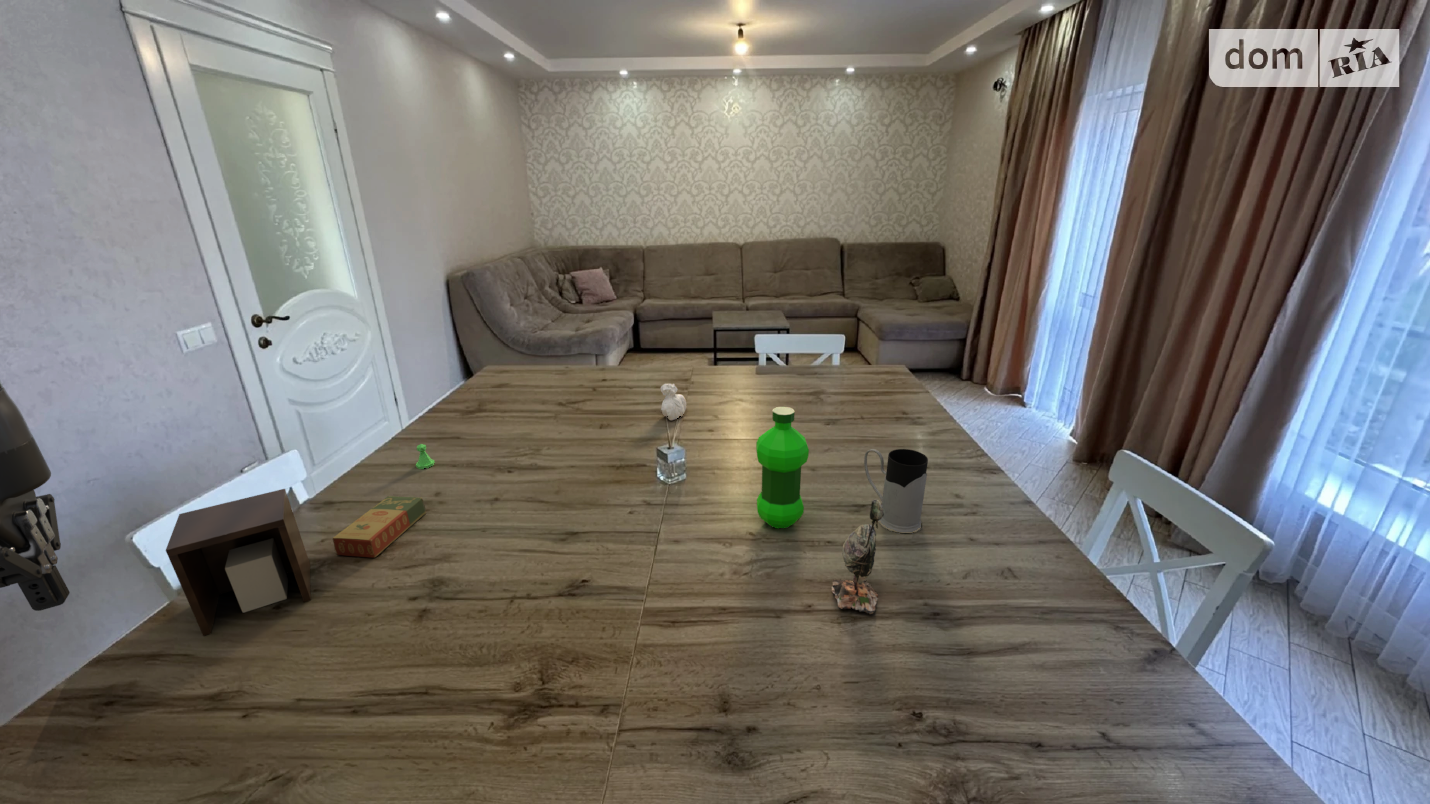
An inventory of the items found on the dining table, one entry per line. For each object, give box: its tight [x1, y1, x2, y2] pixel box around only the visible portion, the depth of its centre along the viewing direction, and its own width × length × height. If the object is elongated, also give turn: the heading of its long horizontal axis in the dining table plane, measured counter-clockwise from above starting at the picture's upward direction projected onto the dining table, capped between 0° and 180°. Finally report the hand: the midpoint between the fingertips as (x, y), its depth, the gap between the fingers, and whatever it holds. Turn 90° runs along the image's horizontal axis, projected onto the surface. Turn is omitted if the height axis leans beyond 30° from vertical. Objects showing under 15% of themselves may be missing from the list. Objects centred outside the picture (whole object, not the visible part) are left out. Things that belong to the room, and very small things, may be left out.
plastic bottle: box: [755, 406, 810, 529], centre depth 110 cm, size 10×10×25 cm
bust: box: [660, 382, 687, 421], centre depth 168 cm, size 12×8×11 cm
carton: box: [332, 495, 427, 558], centre depth 111 cm, size 8×16×4 cm, turn 173°
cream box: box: [225, 538, 289, 614], centre depth 93 cm, size 6×6×9 cm
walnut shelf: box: [165, 488, 312, 637], centre depth 92 cm, size 14×12×16 cm
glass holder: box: [863, 448, 929, 532], centre depth 114 cm, size 9×14×15 cm, turn 39°
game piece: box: [415, 443, 436, 470], centre depth 139 cm, size 4×4×6 cm
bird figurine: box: [831, 498, 884, 615], centre depth 91 cm, size 8×11×20 cm
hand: (52, 603), depth 55 cm, fingers closed
